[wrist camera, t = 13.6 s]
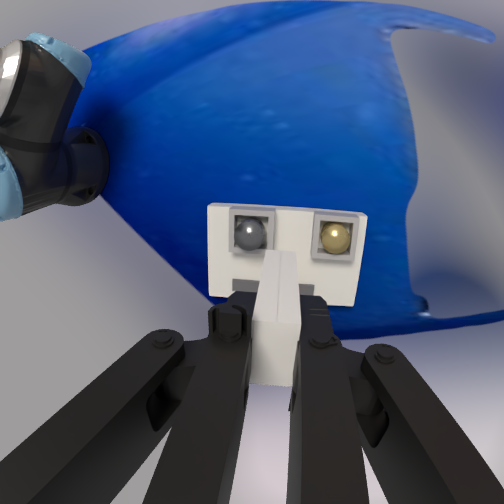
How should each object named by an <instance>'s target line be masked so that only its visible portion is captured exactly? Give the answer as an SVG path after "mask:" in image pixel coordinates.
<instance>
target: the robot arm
mask: <svg viewBox="0 0 504 504" xmlns="http://www.w3.org/2000/svg"><path fill="white" fill-rule="evenodd" d="M90 69H91V60H90V58H89V57H88V56H87V55H86V54H85V53H83V52H82V51H80V50H78V49H77V48H75V47H73V46H71V45H69V44H66V43H65V42H62V41H60V40H56V39H54V38H51V37H49V36H47V35H44V34H41V33H31V34H30V35H29V36H28V37H27V38H26V40H25V41H22V40H18V39H17V40H13V41H12V42H10V43H9V44H7V45H6V46H4V47H3V48H0V221H5V220H9V219H13V218H18V217H20V216H22V215H25V214H27V213H30V212H33V211H35V210H38V209H41V208H43V207H47V206H49V205H52V204H55V203H56V204H63V205H68V206H80V205H83V204H86V203H89V202H91V201H92V200H94V199H95V198H96V197H97V196H98V195H99V194H100V193H101V192H102V190H103V188H104V186H105V184H106V181H107V178H108V173H109V155H108V150H107V147H106V145H105V142H104V141H103V139H102V138H101V136H100V135H99V134H98V133H97V132H96V131H94V130H93V129H91V128H88V127H72V128H68V129H67V126H68V123H69V121H70V118H71V115H72V113H73V110H74V107H75V105H76V102H77V100H78V98H79V95H80V93H81V90H83V89H84V87H85V81H86V79H87V76H88V74H89V72H90ZM208 322H209V335H208V337H207V338H204V339H201V340H194V341H184V340H183V336H182V335H181V334H180V333H179V332H177V331H174V330H169V329H159V330H156V331H152V332H150V333H149V334H147V335H146V336H145V337H143V338H142V339H141V340H140V341H139V342H138V343H136V344H135V345H134V346H133V347H132V348H131V349H130V350H128V351H127V352H126V353H125V354H124V355H122V356H121V357H120V358H119V359H118V360H117V361H115V362H114V363H113V364H112V365H111V366H110V367H109V368H107V369H106V370H105V371H104V372H103V373H102V374H100V375H99V376H98V377H97V378H96V379H95V380H93V381H92V382H91V383H90V384H89V385H88V386H86V387H85V388H84V389H83V390H82V391H81V392H80V393H79V394H77V395H76V396H75V397H74V398H73V399H71V400H70V401H69V402H68V403H67V404H66V405H65V406H63V407H62V408H61V409H60V410H59V411H58V412H57V413H55V414H54V415H53V416H52V417H51V418H50V419H49V420H47V421H46V422H45V423H44V424H43V425H42V426H40V428H38V429H37V430H36V431H35V432H34V433H32V434H31V435H30V436H29V437H28V438H27V439H26V440H24V441H23V442H22V443H21V444H20V445H19V446H18V447H16V448H15V449H14V450H13V451H12V452H11V453H10V454H8V455H7V456H6V457H5V458H4V459H3V460H2V461H1V462H0V504H110V503H111V502H112V500H113V499H114V498H115V497H116V496H117V494H118V493H119V492H120V491H121V490H122V488H123V487H124V486H125V484H127V482H128V481H129V480H130V479H131V477H132V476H133V475H134V474H135V473H136V471H137V470H138V469H139V468H140V466H141V465H142V464H143V463H144V461H145V460H146V459H147V458H148V456H149V455H150V453H151V452H152V451H153V450H154V449H155V447H156V446H157V445H158V443H159V442H160V441H161V440H162V438H163V437H164V436H165V435H166V433H167V432H168V431H169V429H170V428H171V427H172V428H171V430H170V433H169V436H168V438H167V441H166V443H165V446H164V448H163V451H162V454H161V456H160V459H159V461H158V464H157V467H156V469H155V472H154V475H153V477H152V479H151V482H150V485H149V488H148V490H147V493H146V495H145V498H144V501H143V503H142V504H229V500H230V495H231V490H232V484H233V479H234V474H235V468H236V463H237V457H238V451H239V446H240V440H241V434H242V429H243V422H244V417H245V411H246V405H247V399H248V389H249V383H250V384H260V385H272V386H287V387H291V386H292V382H293V387H292V393H291V399H290V404H289V410H288V411H290V441H289V463H288V483H287V499H286V504H369V496H368V488H367V480H366V474H365V466H364V459H363V453H362V448H363V450H364V452H365V454H366V456H367V458H368V460H369V463H370V465H371V467H372V469H373V471H374V473H375V475H376V477H377V480H378V482H379V484H380V486H381V488H382V490H383V492H384V495H385V497H386V499H387V501H388V503H389V504H504V489H503V487H502V485H501V484H500V482H499V481H498V479H497V478H496V477H495V475H494V474H493V472H492V471H491V469H490V468H489V466H488V465H487V464H486V462H485V461H484V459H483V458H482V456H481V455H480V453H479V452H478V451H477V449H476V448H475V446H474V445H473V444H472V442H471V441H470V440H469V438H468V437H467V436H466V434H465V433H464V431H463V430H462V429H461V427H460V426H459V425H458V423H456V421H455V419H454V418H453V417H452V415H451V414H450V413H449V411H448V410H447V409H446V408H445V406H444V405H443V404H442V402H441V401H440V400H439V398H438V397H437V396H436V395H435V393H434V392H433V391H432V389H431V388H430V387H429V386H428V384H427V383H426V382H425V381H424V379H423V378H422V377H421V376H420V374H419V373H418V372H417V371H416V369H415V368H414V367H413V366H412V365H411V363H410V362H409V361H408V360H407V358H406V357H405V356H404V355H403V353H402V352H401V351H399V350H398V349H397V348H395V347H393V346H391V345H387V344H374V345H371V346H369V347H368V348H367V349H366V350H365V353H360V352H356V351H352V350H349V349H346V348H344V347H342V344H341V341H340V339H339V338H338V337H337V336H336V335H334V333H333V329H332V324H331V319H330V316H329V311H328V306H327V302H326V301H325V300H324V299H323V298H322V297H321V296H314V295H299V283H298V270H297V258H296V251H281V250H266V252H265V258H264V263H263V268H262V273H261V278H260V283H259V287H258V292H244V291H235V292H234V293H233V294H231V295H230V296H229V298H228V300H227V303H221V304H217V305H215V306H213V307H211V308H210V310H209V311H208Z"/></svg>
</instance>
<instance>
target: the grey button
mask: <svg viewBox="0 0 504 504" xmlns="http://www.w3.org/2000/svg"><path fill="white" fill-rule="evenodd" d="M264 236H265V226H264V224H263V223H262V222H261V221H260V220H259V219H257V218H253V217H250V218H246V219H244V220H242V221H241V223H240V224H239V225H238V227H237V228H236V230H235V232H234V240H235V242H236V244H237V245H238V246H239V247H240V248H241V249H243V250H246V251H253V250H256V249H257V248H259V247H260V246H261V244H262V242H263V239H264Z"/></svg>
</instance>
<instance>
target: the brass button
mask: <svg viewBox="0 0 504 504" xmlns="http://www.w3.org/2000/svg"><path fill="white" fill-rule="evenodd" d="M320 237H321V240H322V243H323V246H324V248H325V249H326V250H327V251H328V252H330V253H333V254H338V253H342V252H344V251H345V250H346V249H347V248H348V246H349V244H350V235H349V233H348V231H347V230H346V228H345V227H344V225H343V224H342V223H340V222H336V221H330V222H328V223H326V224H325V225H324V226H323V227H322V229H321V232H320Z"/></svg>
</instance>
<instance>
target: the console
mask: <svg viewBox="0 0 504 504" xmlns="http://www.w3.org/2000/svg"><path fill="white" fill-rule="evenodd" d="M250 217H253V218H257V219H259V220H260V221H261V222H262V223H263V224H264V226H265V236H264V239H263V242H262V244H261V246H260V247H259V248H257V249H256V250H253V251H246V250H243V249H241V248H240V247H239V246H238V245H237V244H236V242H235V240H234V232H235V230H236V228H237V227H238V225H239V224H240V223H241V221H242V220H244V219H246V218H250ZM330 221H336V222H340V223H342V224H343V225H344V227H345V228H346V230H347V231H348V233H349V235H350V244H349V246H348V248H347V249H346V250H345V251H344V252H342V253H338V254H333V253H330V252H328V251H327V250H326V249H325V248H324V246H323V243H322V240H321V237H320V232H321V229H322V227H323V226H324V225H325V224H326V223H328V222H330ZM366 224H367V216H366V215H365V214H364V213H361V212H351V211H339V210H328V209H315V208H301V207H287V206H271V205H253V204H232V203H211V204H210V205H208V274H209V296H219V297H229V296H230V295H231V294H233V293H234V292H235V291H244V292H258V287H259V283H260V278H261V273H262V268H263V263H264V258H265V252H266V250H281V251H296V258H297V270H298V283H299V295H314V296H321V297H322V298H323V299H324V300H325V301H326V302H327V305H338V306H353V305H354V300H355V295H356V289H357V284H358V278H359V272H360V266H361V260H362V253H363V247H364V240H365V232H366Z"/></svg>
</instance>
